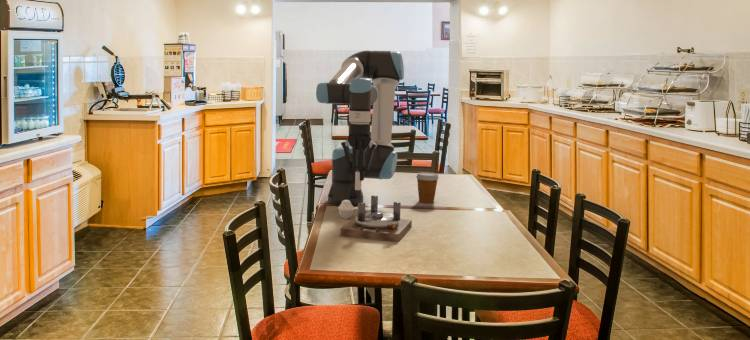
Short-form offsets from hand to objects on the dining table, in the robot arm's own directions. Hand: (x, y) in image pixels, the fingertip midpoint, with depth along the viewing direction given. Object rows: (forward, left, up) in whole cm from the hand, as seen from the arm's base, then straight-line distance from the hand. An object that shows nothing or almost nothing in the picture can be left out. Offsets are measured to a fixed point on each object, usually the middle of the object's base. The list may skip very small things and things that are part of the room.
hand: (358, 189), depth 213 cm
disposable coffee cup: (+16, +47, -13) cm, 51 cm away
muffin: (-7, +8, -13) cm, 17 cm away
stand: (+9, -6, -13) cm, 17 cm away
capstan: (+9, -6, -10) cm, 15 cm away
